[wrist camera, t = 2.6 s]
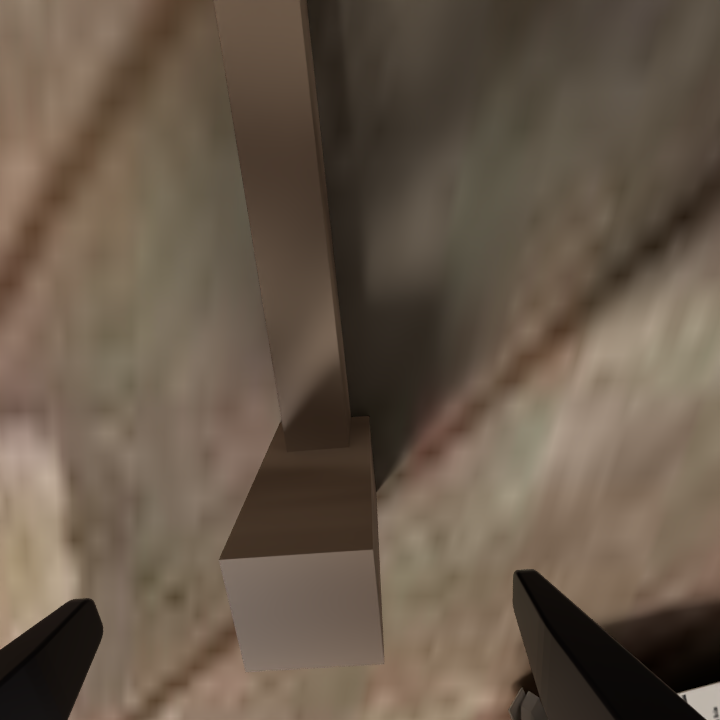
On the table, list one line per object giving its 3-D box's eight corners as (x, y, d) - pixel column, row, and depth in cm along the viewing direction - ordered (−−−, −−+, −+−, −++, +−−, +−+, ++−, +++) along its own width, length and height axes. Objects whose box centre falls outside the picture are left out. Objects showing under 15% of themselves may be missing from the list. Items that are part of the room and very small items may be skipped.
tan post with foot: (376, 492, 14) (384, 664, 9) (171, 507, 15) (48, 683, 9) (298, -352, 8) (156, -1613, 3) (-46, -301, 9) (-850, -1351, 3)
